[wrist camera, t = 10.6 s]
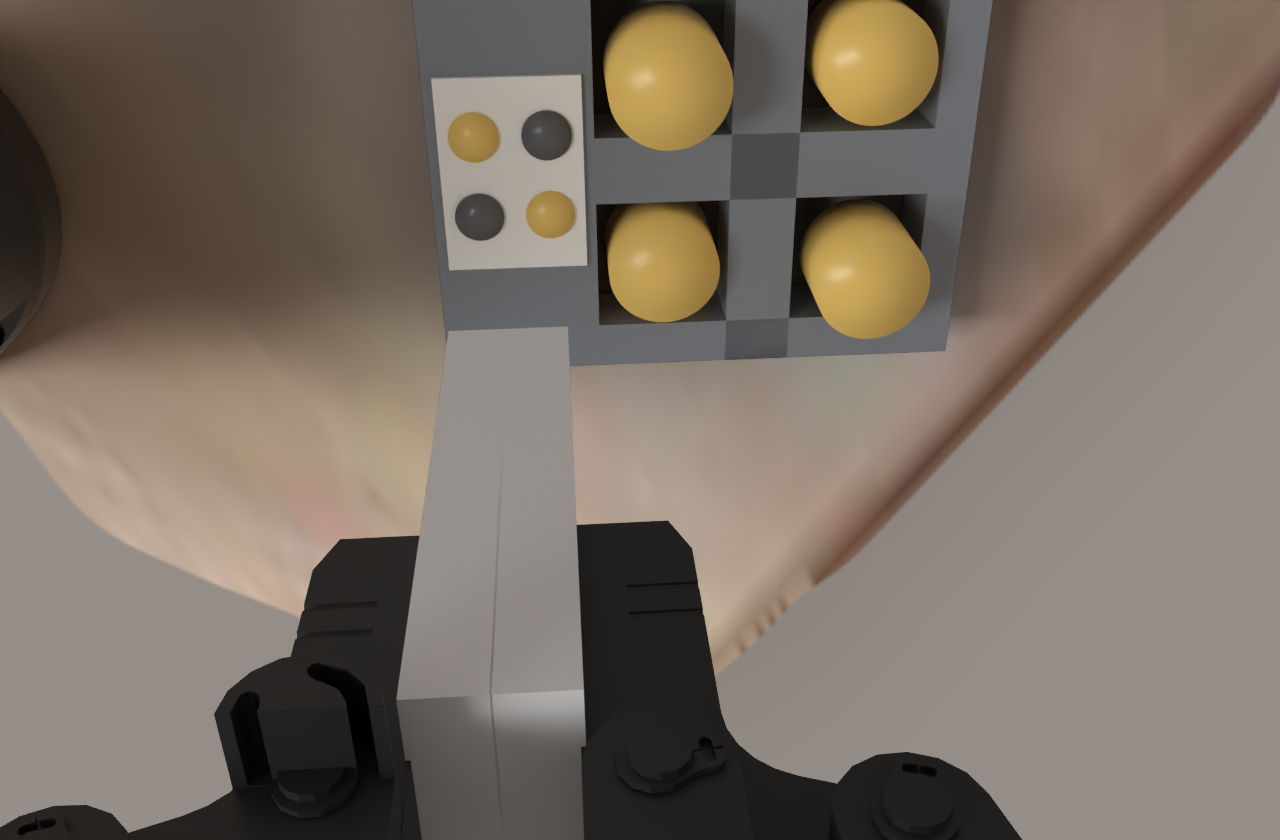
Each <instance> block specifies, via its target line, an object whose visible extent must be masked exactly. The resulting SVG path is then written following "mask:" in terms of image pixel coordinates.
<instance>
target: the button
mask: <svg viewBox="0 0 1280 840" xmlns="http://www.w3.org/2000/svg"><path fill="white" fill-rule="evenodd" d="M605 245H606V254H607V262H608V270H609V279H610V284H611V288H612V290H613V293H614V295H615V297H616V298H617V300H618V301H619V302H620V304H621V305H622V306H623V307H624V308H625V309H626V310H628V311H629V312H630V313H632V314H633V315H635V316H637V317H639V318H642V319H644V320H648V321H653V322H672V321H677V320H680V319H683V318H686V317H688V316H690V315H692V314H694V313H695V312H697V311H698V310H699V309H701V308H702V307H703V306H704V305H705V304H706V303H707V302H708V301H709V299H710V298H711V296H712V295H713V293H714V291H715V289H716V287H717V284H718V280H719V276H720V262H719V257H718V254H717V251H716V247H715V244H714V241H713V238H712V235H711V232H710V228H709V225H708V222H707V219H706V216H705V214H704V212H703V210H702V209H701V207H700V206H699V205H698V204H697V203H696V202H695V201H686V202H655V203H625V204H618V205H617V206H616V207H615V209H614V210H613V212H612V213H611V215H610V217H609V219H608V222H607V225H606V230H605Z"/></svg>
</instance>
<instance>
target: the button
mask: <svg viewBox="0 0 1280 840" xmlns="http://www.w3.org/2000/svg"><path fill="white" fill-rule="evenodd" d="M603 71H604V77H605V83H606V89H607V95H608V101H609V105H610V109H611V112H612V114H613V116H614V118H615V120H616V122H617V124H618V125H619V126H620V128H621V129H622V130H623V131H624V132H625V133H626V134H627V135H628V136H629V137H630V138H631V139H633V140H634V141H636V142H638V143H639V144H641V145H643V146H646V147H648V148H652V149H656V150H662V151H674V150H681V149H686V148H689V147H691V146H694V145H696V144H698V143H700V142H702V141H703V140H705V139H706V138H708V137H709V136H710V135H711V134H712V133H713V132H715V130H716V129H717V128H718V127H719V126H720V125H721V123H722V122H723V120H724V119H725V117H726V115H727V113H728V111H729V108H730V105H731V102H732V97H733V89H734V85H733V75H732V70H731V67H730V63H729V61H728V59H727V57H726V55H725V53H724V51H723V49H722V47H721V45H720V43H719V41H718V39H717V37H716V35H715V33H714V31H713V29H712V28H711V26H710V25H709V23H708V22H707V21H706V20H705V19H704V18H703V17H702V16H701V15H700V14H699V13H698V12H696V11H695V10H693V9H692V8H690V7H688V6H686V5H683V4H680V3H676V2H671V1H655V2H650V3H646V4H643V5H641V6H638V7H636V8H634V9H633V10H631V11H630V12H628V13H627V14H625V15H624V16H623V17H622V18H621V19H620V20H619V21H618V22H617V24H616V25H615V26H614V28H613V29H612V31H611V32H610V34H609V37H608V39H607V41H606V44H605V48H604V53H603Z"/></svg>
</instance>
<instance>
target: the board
mask: <svg viewBox="0 0 1280 840" xmlns="http://www.w3.org/2000/svg"><path fill="white" fill-rule="evenodd" d="M992 2H993V0H925V6H924V16H923V20H924V21H925V22H926V24H927V25H928V26H929V28H930V29H931V31H932V33H933V35H934V37H935V40H936V43H937V47H938V56H939V60H938V69H937V74H936V78H935V81H934V83H933V85H932V88H931V89H930V91H929V93H928V95H927V96H926V97H925V99H924V100H923V101H922V103H921V104H920V105H919V106H918V107H917V108H916V109H914V110H913V111H912V112H911V113H909V114H908V115H906V116H905V117H903V118H901V119H899V120H897V121H895V122H892V123H889V124H885V125H879V126H865V125H859V124H856V123H853V122H850V121H848V120H846V119H844V118H843V117H841V116H840V115H839V114H838V113H836V112H835V111H834V110H833V108H832V107H816V108H802V94H803V77H804V61H805V44H806V27H807V11H808V0H724V32H723V51H724V53H725V55H726V57H727V59H728V61H729V63H730V67H731V70H732V75H733V85H734V89H733V97H732V102H731V105H730V108H729V111H728V113H727V115H726V117H725V119H724V120H723V122H722V123H721V125H720V126H719V127H718V128H717V129H716V130H715V132H713V133H712V134H711V135H710V136H709V137H708V138H706V139H705V140H703V141H702V142H700V143H698V144H696V145H694V146H691V147H689V148H686V149H681V150H674V151H662V150H656V149H652V148H648V147H646V146H643V145H641V144H639V143H638V142H636V141H634V140H633V139H631V138H630V137H629V136H628V135H627V134H626V133H625V132H624V131H623V130H622V129H621V128H620V126H619V125H618V124H617V122H616V120H615V118H614V116H613V114H612V113H606V114H593V78H592V42H591V6H590V0H412V3H413V13H414V23H415V33H416V43H417V53H418V63H419V73H420V83H421V93H422V103H423V113H424V123H425V133H426V143H427V153H428V164H429V174H430V184H431V194H432V204H433V214H434V224H435V234H436V244H437V254H438V264H439V274H440V284H441V294H442V304H443V314H444V324H445V334H446V344H447V338H448V331H463V330H489V329H515V328H541V327H567V326H568V343H569V366H584V365H609V364H634V363H659V362H684V361H709V360H734V359H759V358H784V357H809V356H834V355H859V354H884V353H908V352H933V351H945V350H946V343H947V335H948V328H949V320H950V313H951V306H952V298H953V291H954V283H955V276H956V268H957V261H958V254H959V246H960V239H961V231H962V224H963V217H964V209H965V202H966V194H967V187H968V180H969V172H970V165H971V157H972V150H973V143H974V135H975V128H976V120H977V113H978V106H979V98H980V91H981V83H982V76H983V68H984V61H985V54H986V46H987V39H988V31H989V24H990V17H991V9H992ZM900 194H904V201H903V211H902V220H901V223H902V225H903V226H904V228H905V229H906V231H907V232H908V234H909V235H910V237H911V238H912V240H913V241H914V243H915V244H916V245H917V247H918V248H919V250H920V251H921V253H922V254H923V256H924V258H925V259H926V262H927V264H928V267H929V271H930V288H929V293H928V296H927V299H926V301H925V303H924V305H923V307H922V308H921V310H920V311H919V313H918V314H917V315H916V316H915V318H914V319H913V320H911V321H910V322H909V323H908V324H907V325H906V326H904V327H903V328H901V329H900V330H898V331H896V332H894V333H892V334H889V335H886V336H883V337H879V338H873V339H859V338H853V337H850V336H847V335H844V334H842V333H840V332H838V331H837V330H835V329H834V328H833V327H832V326H830V325H829V323H828V322H827V321H826V320H825V318H824V317H823V316H822V313H821V311H820V309H819V307H818V305H817V303H816V300H815V298H814V296H813V294H812V291H811V289H810V287H809V285H804V286H791V276H792V259H793V243H794V226H795V210H796V198H808V197H839V196H869V195H900ZM716 200H719V220H718V257H719V262H720V276H719V280H718V284H717V289H715V291H714V293H713V295H712V296H711V298H710V299H709V301H708V302H707V303H706V304H705V305H704V306H703V307H702V308H701V309H699V310H698V311H697V312H695V313H694V314H692V315H690V316H688V317H686V318H683V319H680V320H677V321H672V322H653V321H648V320H644V319H642V318H639V317H637V316H635V315H633V314H632V313H630V312H629V311H628V310H626V309H625V308H624V307H623V306H622V305H621V304H620V302H619V301H618V300H617V298H616V297H615V295H614V293H598V260H597V223H596V204H625V203H655V202H686V201H716Z"/></svg>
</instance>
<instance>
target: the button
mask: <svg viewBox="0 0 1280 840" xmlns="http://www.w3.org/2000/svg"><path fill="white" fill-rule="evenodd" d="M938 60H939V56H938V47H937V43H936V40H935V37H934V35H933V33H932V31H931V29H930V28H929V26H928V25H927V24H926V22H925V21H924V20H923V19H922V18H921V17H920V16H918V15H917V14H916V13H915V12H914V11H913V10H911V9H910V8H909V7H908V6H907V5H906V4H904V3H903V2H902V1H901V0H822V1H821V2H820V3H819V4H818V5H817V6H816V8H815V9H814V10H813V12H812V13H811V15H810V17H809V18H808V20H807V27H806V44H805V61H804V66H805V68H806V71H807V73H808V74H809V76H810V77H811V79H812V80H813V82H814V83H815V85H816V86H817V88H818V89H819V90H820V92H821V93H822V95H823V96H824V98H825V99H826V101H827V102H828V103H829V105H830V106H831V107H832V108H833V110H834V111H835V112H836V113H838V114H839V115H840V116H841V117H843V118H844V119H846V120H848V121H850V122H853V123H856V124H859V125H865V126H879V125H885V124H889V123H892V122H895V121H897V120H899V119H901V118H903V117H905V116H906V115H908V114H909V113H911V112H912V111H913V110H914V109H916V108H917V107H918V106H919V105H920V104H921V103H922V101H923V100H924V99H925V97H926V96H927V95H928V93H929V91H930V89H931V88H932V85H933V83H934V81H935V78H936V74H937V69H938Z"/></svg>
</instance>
